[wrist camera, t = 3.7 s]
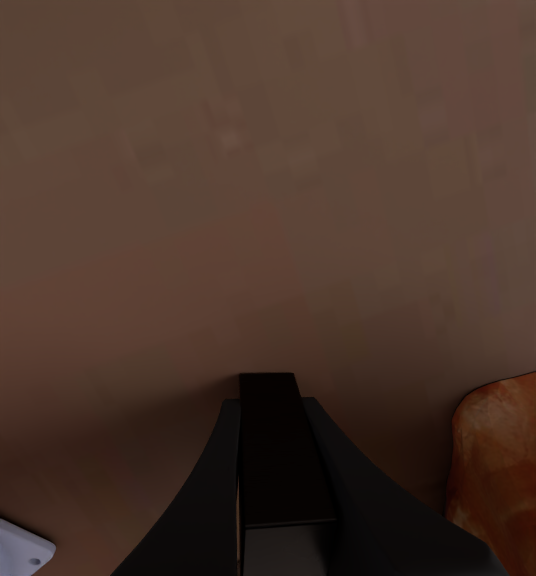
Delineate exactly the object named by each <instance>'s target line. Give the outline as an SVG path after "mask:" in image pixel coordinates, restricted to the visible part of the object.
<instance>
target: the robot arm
mask: <svg viewBox="0 0 536 576" xmlns="http://www.w3.org/2000/svg"><path fill="white" fill-rule="evenodd" d="M301 399H302V402H303V406H304V409H305V412H306V415H307V418H308V421H309V425H310V428H311V431H312V434H313V438H314V441H315V444H316V447H317V451H318V454H319V457H320V460H321V464H322V467H323V470H324V473H325V477H326V480H327V483H328V486H329V490H330V493H331V496H332V500H333V503H334V506H335V509H336V513H337V516H338V519H339V522H338V527H337V533H336V538H335V543H334V548H333V554H332V559H331V564H330V569H329V575H328V576H510V575H509V574H508V572H507V571H506V569H505V568H504V566H503V565H502V563H501V562H500V560H499V559H498V558H497V556H496V555H495V554H494V552H493V551H492V550H491V548H490V547H489V546H488V545H487V543H486V542H484V541H482V540H481V539H479V538H477V537H476V536H474V535H472V534H471V533H469V532H467V531H466V530H464V529H462V528H461V527H459V526H457V525H456V524H454V523H452V522H451V521H449V520H447V519H446V518H444V517H443V516H441V515H440V514H438V513H437V512H435V511H434V510H432V509H431V508H429V507H428V506H426V505H425V504H424V503H422V502H421V501H419V500H418V499H417V498H415V497H414V496H413V495H411V494H410V493H409V492H407V491H406V490H405V489H403V488H402V487H401V486H400V485H398V484H397V483H396V482H394V481H393V480H392V479H391V478H390V477H388V476H387V475H386V474H385V473H384V472H383V471H382V470H380V469H379V468H378V467H377V466H376V465H375V464H374V463H372V462H371V461H370V460H369V459H368V458H367V457H366V456H365V455H364V454H363V453H362V452H361V451H360V450H359V449H358V448H357V447H356V446H355V445H354V444H353V443H352V441H351V440H350V439H349V438H348V437H347V436H346V435H345V434H344V433H343V431H342V430H341V429H340V428H339V427H338V426H337V425H336V423H335V422H334V421H333V420H332V419H331V417H330V416H329V415H328V414H327V413H326V411H325V410H324V409H323V408H322V406H321V405H320V404H319V402H318V401H317V400H316V399H315V398H314V397H301ZM240 420H241V405H240V399H225V400H224V401H223V402H222V406H221V410H220V413H219V416H218V419H217V422H216V424H215V427H214V429H213V431H212V434H211V436H210V438H209V440H208V442H207V444H206V446H205V448H204V450H203V452H202V454H201V456H200V458H199V460H198V462H197V463H196V465H195V467H194V469H193V470H192V472H191V474H190V475H189V477H188V478H187V480H186V482H185V483H184V485H183V486H182V488H181V489H180V491H179V492H178V494H177V495H176V496H175V498H174V499H173V501H172V502H171V504H170V505H169V506H168V508H167V509H166V510H165V512H164V513H163V514H162V516H161V517H160V518H159V519H158V521H157V522H156V523H155V524H154V526H153V527H152V528H151V529H150V531H149V532H148V533H147V534H146V536H145V537H144V538H143V539H142V540H141V542H140V543H139V544H138V545H137V546H136V547H135V548H134V550H133V551H132V552H131V553H130V554H129V555H128V556H127V557H126V558H125V559H124V561H123V562H122V563H121V564H120V565H119V566H118V567H117V568H116V569H115V571H114V572H113V573H112V574H111V575H110V576H237V524H236V501H237V489H238V476H239V446H240ZM55 551H56V546H55V545H54V544H53V543H52V542H50V541H48V540H46V539H43V538H41V537H39V536H37V535H35V534H33V533H31V532H29V531H26V530H24V529H22V528H20V527H18V526H16V525H14V524H11V523H9V522H7V521H5V520H3V519H1V518H0V576H31V575H32V574H33V573H35V572H36V571H37V570H38V569H39V568H41V567H42V566H43V565H44V564H46V563H47V562H48V561H49V560H50V559H51V558H52V557H53V555H54V553H55Z"/></svg>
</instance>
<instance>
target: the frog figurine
mask: <svg viewBox="0 0 536 576" xmlns="http://www.w3.org/2000/svg"><path fill="white" fill-rule="evenodd" d="M451 423H452V435H453V443H454V445H453V453H452V462H451V469H450V472H449V476H448V479H447V485H446V497H445V505H444V511H443V517H444V518H446V519H447V520H449V521H451V522H452V523H454V524H456V525H457V526H459V527H461V528H462V529H464V530H466V531H467V532H469V533H471V534H472V535H474V536H476V537H477V538H479V539H481V540H482V541H484V542H486V543H487V545H488V546H489V547H490V548H491V550H492V551H493V552H494V554H495V555H496V556H497V558H498V559H499V560H500V562H501V563H502V565H503V566H504V568H505V569H506V571H507V572H508V574H509V575H510V576H536V372H534V373H530V374H526V375H522V376H519V377H515V378H510V379H506V380H502V381H498V382H494V383H491V384H488V385H486V386H483V387H481V388H478V389H476V390H475V391H473V392H472V393H470V394H468V395H467V396H465V398H464V399H463V401H462V402H461V403H460V405H459V406H458V407H457V409H456V411H455V413H454V416H453V418H452V421H451Z"/></svg>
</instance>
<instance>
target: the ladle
mask: <svg viewBox="0 0 536 576" xmlns="http://www.w3.org/2000/svg"><path fill="white" fill-rule="evenodd" d="M239 399H240V405H241V420H240V446H239V537H240V563H238V564H237V576H328V575H329V569H330V564H331V559H332V554H333V548H334V543H335V538H336V533H337V527H338V522H339V519H338V516H337V513H336V509H335V506H334V503H333V500H332V496H331V493H330V490H329V486H328V483H327V480H326V477H325V473H324V470H323V467H322V464H321V460H320V457H319V454H318V451H317V447H316V444H315V441H314V438H313V434H312V431H311V428H310V425H309V421H308V418H307V415H306V412H305V409H304V406H303V402H302V399H301V395H300V392H299V389H298V386H297V382H296V379H295V376H294V373H244V374H240V375H239Z"/></svg>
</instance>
